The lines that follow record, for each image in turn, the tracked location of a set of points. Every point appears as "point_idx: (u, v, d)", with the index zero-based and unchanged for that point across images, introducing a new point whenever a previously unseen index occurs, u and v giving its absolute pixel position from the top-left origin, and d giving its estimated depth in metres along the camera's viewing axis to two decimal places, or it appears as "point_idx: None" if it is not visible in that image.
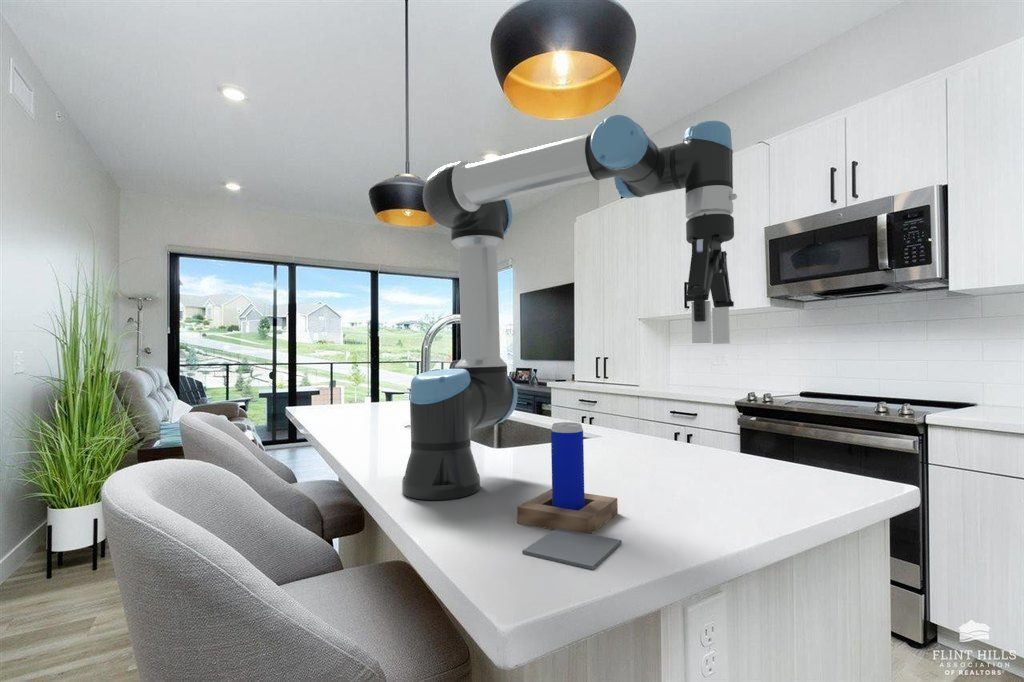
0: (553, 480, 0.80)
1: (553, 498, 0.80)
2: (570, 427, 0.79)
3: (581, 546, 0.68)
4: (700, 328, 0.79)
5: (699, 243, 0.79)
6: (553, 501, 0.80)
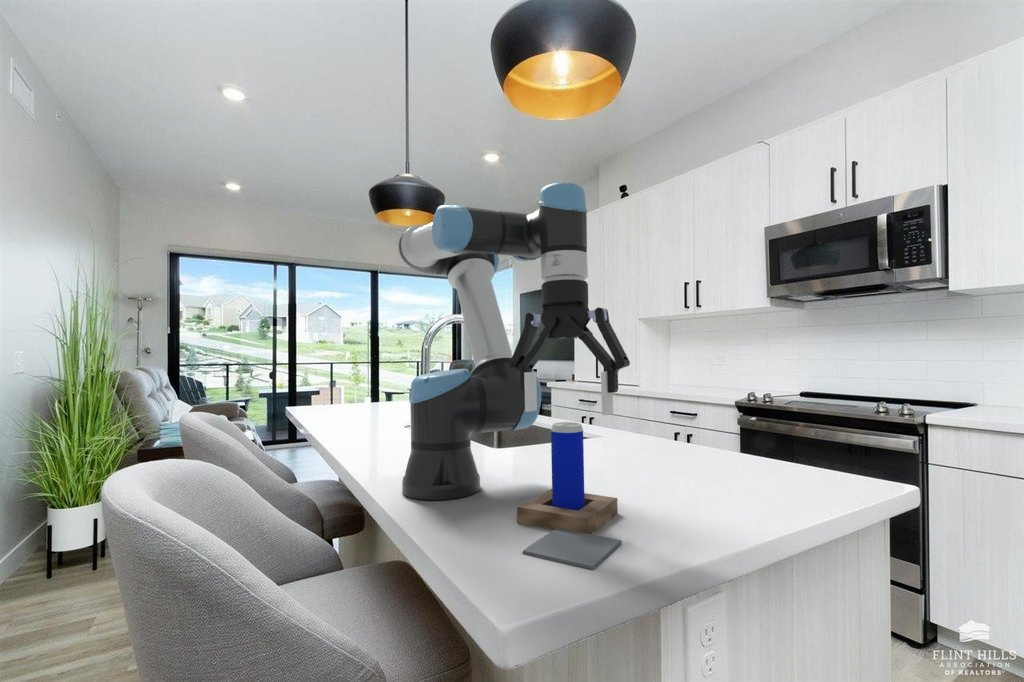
0: (553, 480, 0.80)
1: (553, 498, 0.80)
2: (570, 427, 0.79)
3: (581, 546, 0.68)
4: None
5: None
6: (553, 501, 0.80)
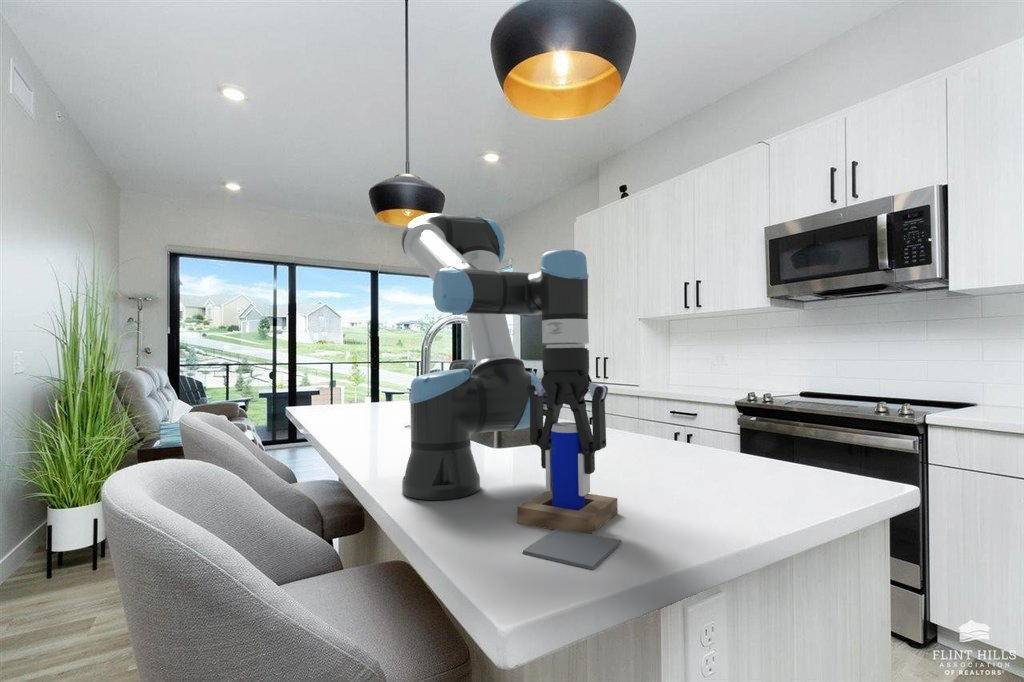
0: (553, 480, 0.80)
1: (553, 498, 0.80)
2: (570, 427, 0.79)
3: (581, 546, 0.68)
4: None
5: None
6: (553, 501, 0.80)
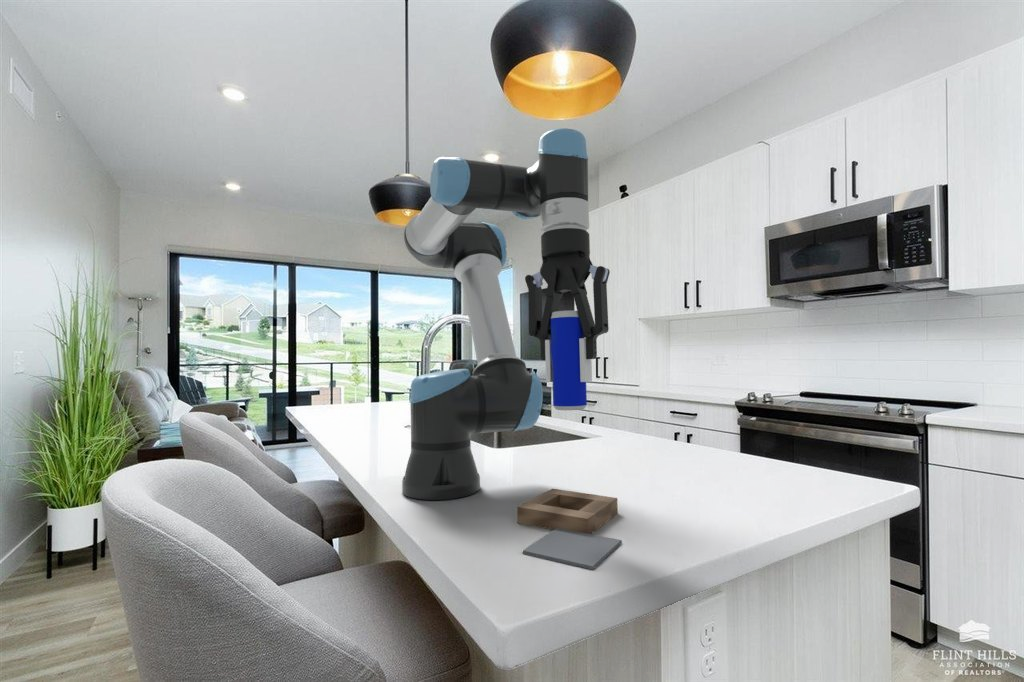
0: (553, 368, 0.77)
1: (554, 387, 0.77)
2: (571, 311, 0.76)
3: (581, 546, 0.68)
4: None
5: None
6: (554, 391, 0.77)
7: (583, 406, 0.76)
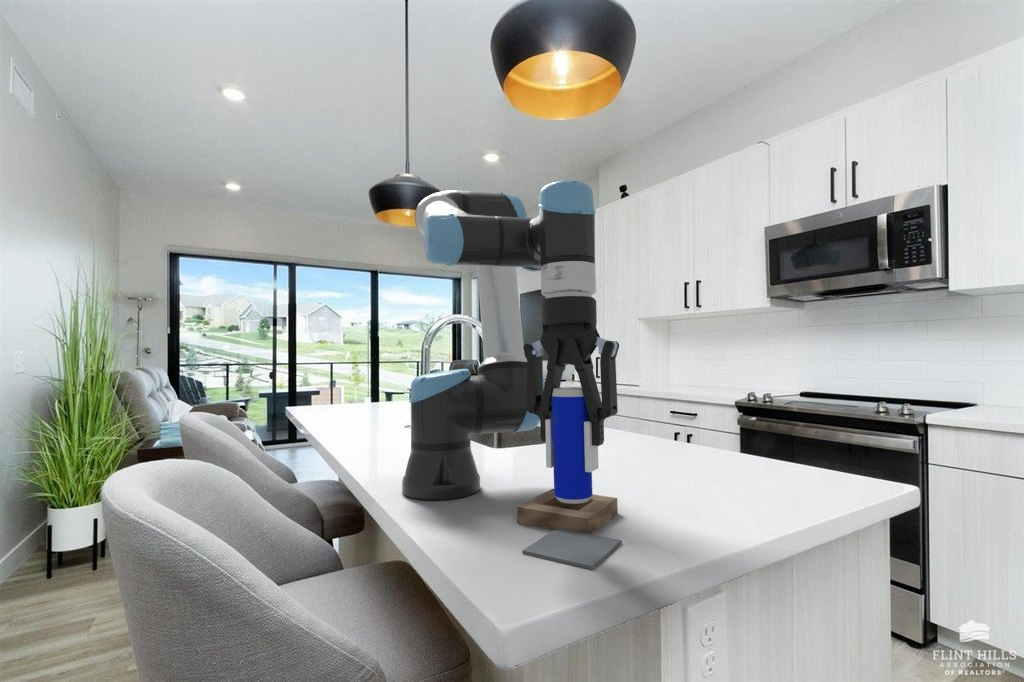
0: (555, 454, 0.67)
1: (555, 475, 0.68)
2: (574, 390, 0.66)
3: (581, 546, 0.68)
4: None
5: None
6: (555, 479, 0.68)
7: (588, 498, 0.67)
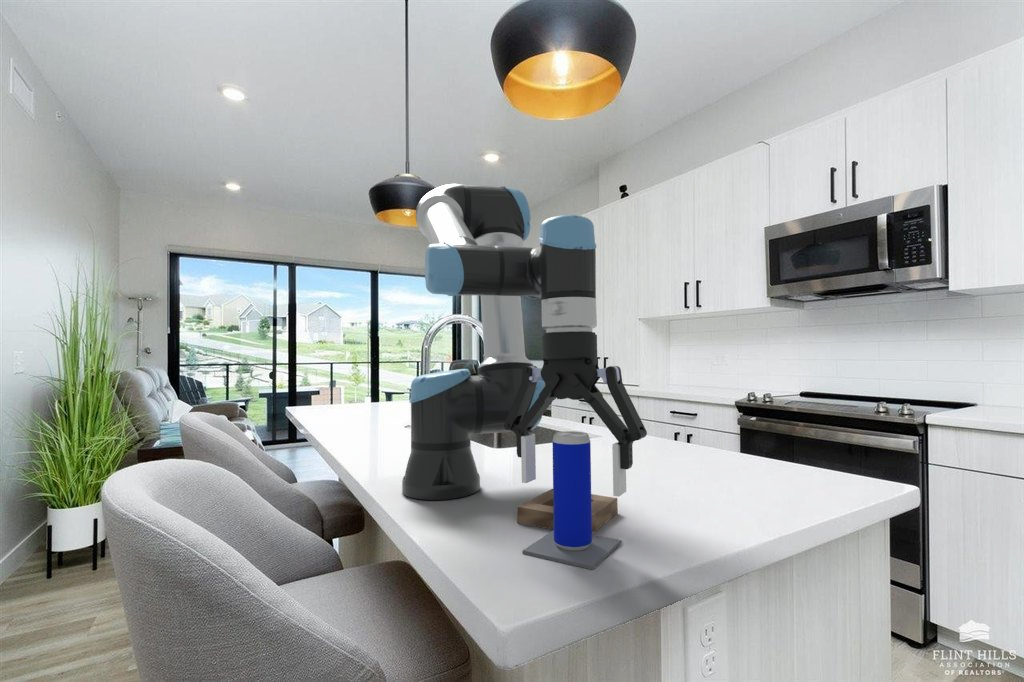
0: (555, 500, 0.68)
1: (555, 521, 0.68)
2: (575, 438, 0.66)
3: None
4: None
5: None
6: (555, 525, 0.68)
7: (588, 545, 0.67)
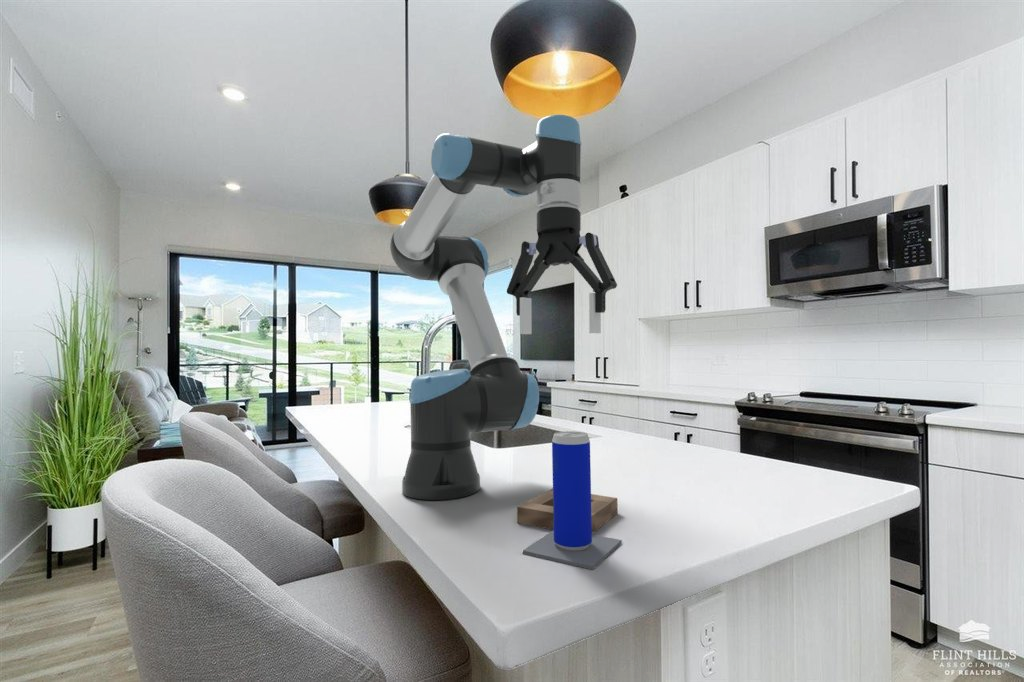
0: (554, 500, 0.68)
1: (554, 521, 0.68)
2: (575, 438, 0.66)
3: None
4: None
5: None
6: (554, 525, 0.68)
7: (588, 545, 0.67)
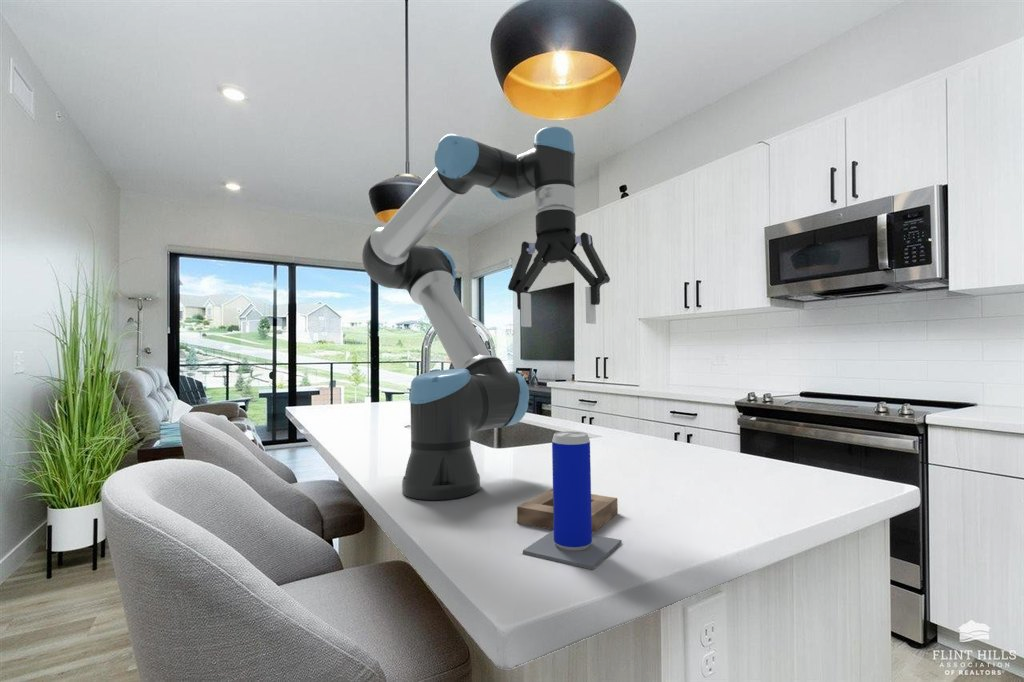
0: (554, 500, 0.68)
1: (554, 521, 0.68)
2: (575, 438, 0.66)
3: None
4: None
5: None
6: (554, 525, 0.68)
7: (588, 545, 0.67)
